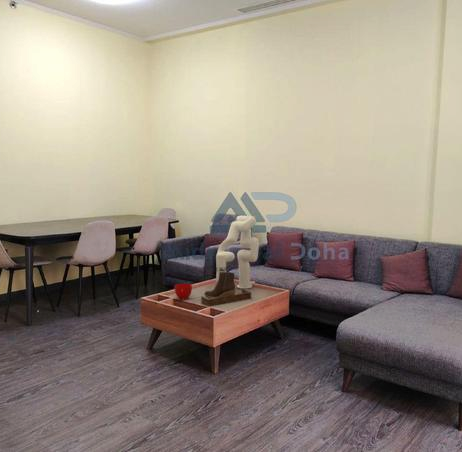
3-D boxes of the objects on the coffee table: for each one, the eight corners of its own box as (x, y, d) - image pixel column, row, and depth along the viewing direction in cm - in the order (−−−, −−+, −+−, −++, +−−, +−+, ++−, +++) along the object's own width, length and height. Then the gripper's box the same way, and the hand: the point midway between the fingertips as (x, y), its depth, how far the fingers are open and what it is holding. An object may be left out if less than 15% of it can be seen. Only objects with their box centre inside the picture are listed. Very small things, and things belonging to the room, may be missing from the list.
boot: (205, 295, 353) (205, 270, 351) (236, 296, 350) (236, 270, 348) (203, 298, 344) (202, 272, 342) (234, 299, 342) (234, 273, 340)
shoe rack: (243, 295, 353) (243, 289, 353) (251, 298, 344) (251, 292, 344) (201, 302, 333) (201, 296, 333) (208, 306, 324) (208, 299, 324)
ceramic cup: (173, 302, 335) (173, 289, 334) (175, 296, 351) (175, 283, 350) (191, 302, 336) (191, 288, 335) (192, 295, 352) (192, 283, 351)
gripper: (230, 270, 347) (230, 293, 349) (220, 267, 359) (221, 289, 361) (221, 271, 343) (222, 295, 345) (212, 268, 355) (212, 291, 357)
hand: (221, 292), depth 353 cm, fingers closed
